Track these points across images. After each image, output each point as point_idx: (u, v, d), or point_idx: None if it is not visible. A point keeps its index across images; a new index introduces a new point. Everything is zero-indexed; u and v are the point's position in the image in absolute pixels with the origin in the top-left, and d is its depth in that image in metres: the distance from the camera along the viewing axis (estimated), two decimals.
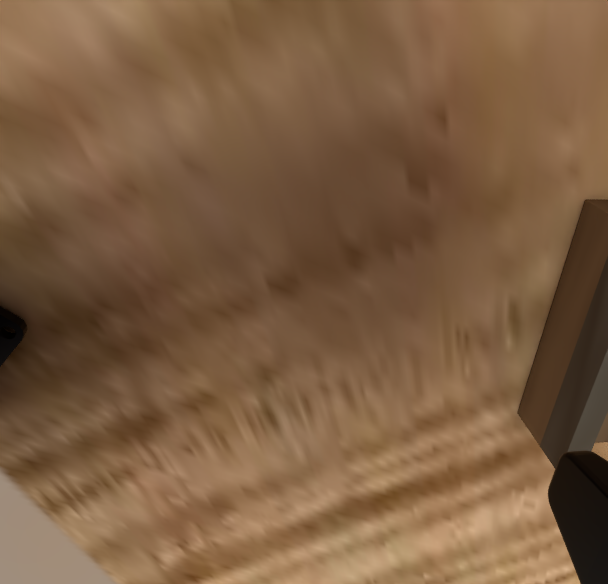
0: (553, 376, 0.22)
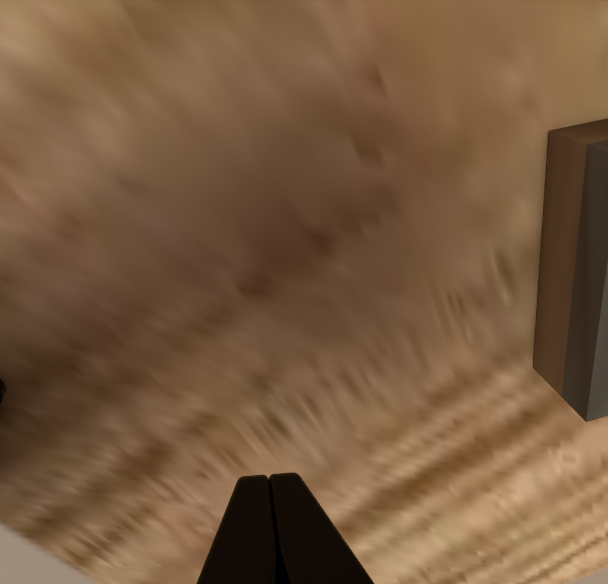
0: (559, 322, 0.21)
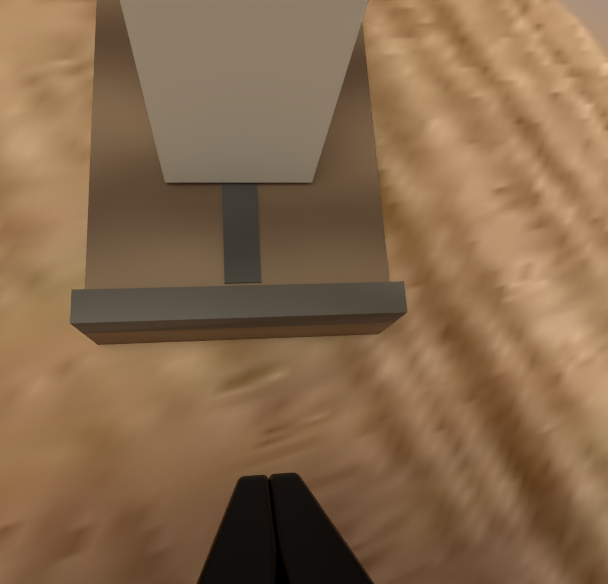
0: (298, 329, 0.19)
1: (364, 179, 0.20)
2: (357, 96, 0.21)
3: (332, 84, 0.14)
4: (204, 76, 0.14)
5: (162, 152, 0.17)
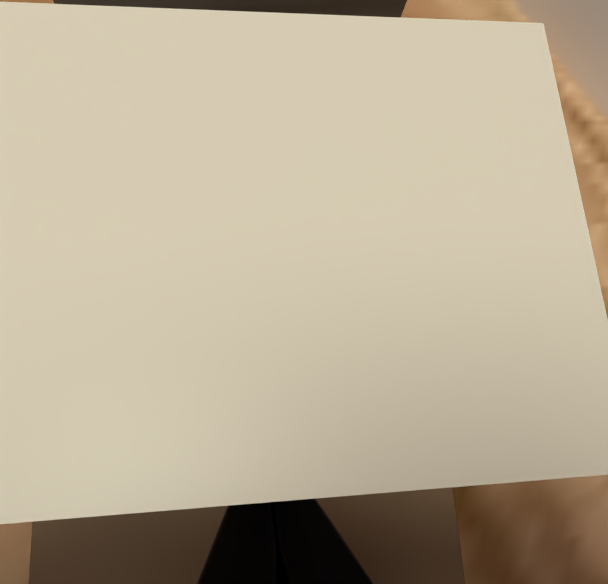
0: None
1: (432, 493, 0.14)
2: None
3: None
4: None
5: None
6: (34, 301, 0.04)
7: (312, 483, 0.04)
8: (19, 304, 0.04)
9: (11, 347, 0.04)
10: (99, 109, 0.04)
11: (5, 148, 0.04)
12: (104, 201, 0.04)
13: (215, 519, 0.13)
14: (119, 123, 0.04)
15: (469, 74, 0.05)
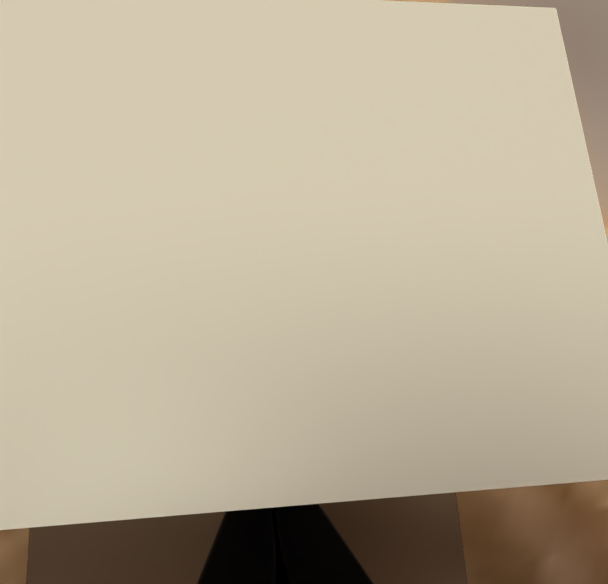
0: None
1: None
2: None
3: None
4: None
5: None
6: (24, 296, 0.04)
7: (316, 488, 0.04)
8: (9, 300, 0.04)
9: (0, 345, 0.04)
10: (93, 96, 0.04)
11: None
12: (98, 192, 0.04)
13: None
14: (114, 111, 0.04)
15: (479, 61, 0.05)
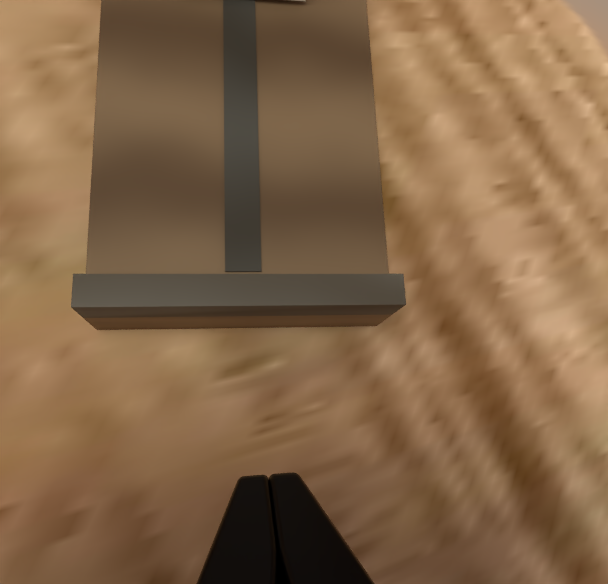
0: (297, 318, 0.19)
1: (365, 171, 0.20)
2: (361, 88, 0.21)
3: None
4: None
5: None
6: None
7: None
8: None
9: None
10: None
11: None
12: None
13: (215, 171, 0.19)
14: None
15: None
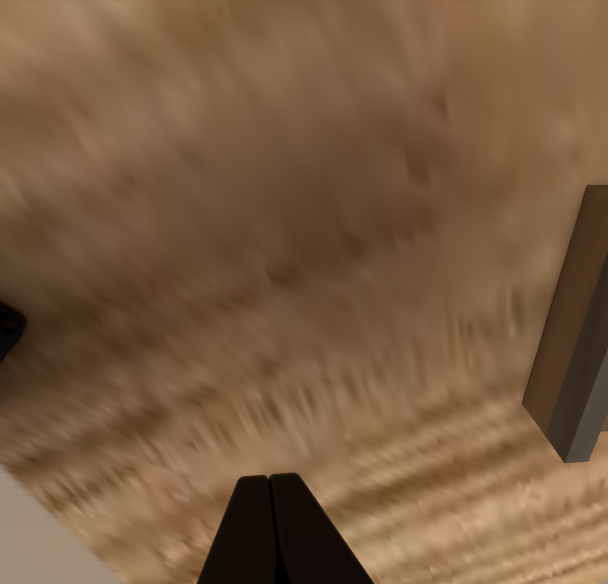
0: (558, 365, 0.22)
1: None
2: None
3: None
4: None
5: None
6: None
7: None
8: None
9: None
10: None
11: None
12: None
13: None
14: None
15: None
